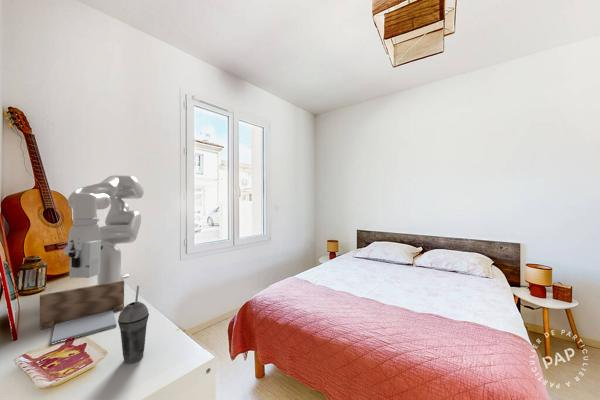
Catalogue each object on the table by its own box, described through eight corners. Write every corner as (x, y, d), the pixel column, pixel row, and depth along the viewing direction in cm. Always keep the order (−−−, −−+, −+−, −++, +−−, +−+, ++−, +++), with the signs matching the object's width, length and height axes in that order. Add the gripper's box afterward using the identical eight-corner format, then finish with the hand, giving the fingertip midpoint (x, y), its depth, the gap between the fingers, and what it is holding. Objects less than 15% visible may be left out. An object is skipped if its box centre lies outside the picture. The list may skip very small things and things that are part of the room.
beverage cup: (111, 363, 65) (111, 290, 66) (137, 348, 72) (137, 281, 72) (129, 370, 63) (129, 293, 63) (155, 353, 70) (155, 284, 70)
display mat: (112, 312, 95) (112, 310, 95) (116, 326, 85) (116, 323, 85) (55, 327, 84) (55, 324, 84) (51, 344, 74) (51, 341, 74)
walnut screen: (122, 304, 103) (122, 278, 103) (124, 308, 98) (124, 282, 98) (40, 323, 87) (40, 293, 87) (38, 330, 82) (38, 298, 82)
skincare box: (69, 278, 98) (68, 242, 98) (82, 273, 104) (81, 239, 104) (90, 278, 98) (89, 242, 98) (101, 273, 104) (101, 239, 104)
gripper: (99, 220, 110) (99, 259, 110) (53, 224, 93) (54, 270, 93) (112, 220, 108) (113, 260, 109) (68, 225, 91) (69, 271, 92)
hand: (85, 264), depth 101 cm, fingers closed on skincare box, 6 cm apart
